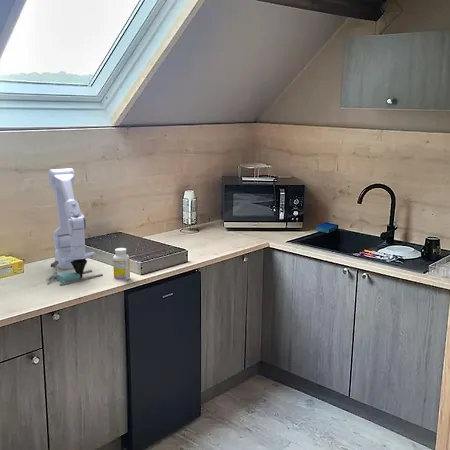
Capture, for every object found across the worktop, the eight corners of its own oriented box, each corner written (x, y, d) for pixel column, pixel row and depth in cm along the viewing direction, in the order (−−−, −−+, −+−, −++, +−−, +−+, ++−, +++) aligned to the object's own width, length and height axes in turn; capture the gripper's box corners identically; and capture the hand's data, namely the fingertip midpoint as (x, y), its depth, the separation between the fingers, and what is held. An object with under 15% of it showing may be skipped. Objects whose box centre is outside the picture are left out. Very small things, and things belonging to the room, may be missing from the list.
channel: (49, 282, 233) (49, 279, 233) (90, 273, 246) (90, 269, 245) (61, 288, 226) (60, 284, 226) (102, 277, 239) (102, 274, 239)
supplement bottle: (122, 275, 242) (121, 246, 240) (133, 278, 238) (132, 248, 236) (110, 279, 237) (109, 249, 235) (121, 282, 233) (119, 252, 230)
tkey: (56, 276, 238) (55, 260, 237) (59, 276, 238) (58, 260, 237) (46, 283, 228) (45, 267, 227) (49, 284, 228) (48, 267, 227)
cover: (57, 282, 234) (57, 274, 233) (72, 278, 238) (72, 271, 238) (64, 285, 229) (64, 278, 229) (80, 281, 234) (79, 274, 234)
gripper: (66, 250, 226) (68, 282, 229) (98, 243, 236) (99, 275, 239) (57, 246, 231) (59, 279, 234) (89, 240, 241) (90, 271, 244)
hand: (79, 276), depth 237 cm, fingers closed
